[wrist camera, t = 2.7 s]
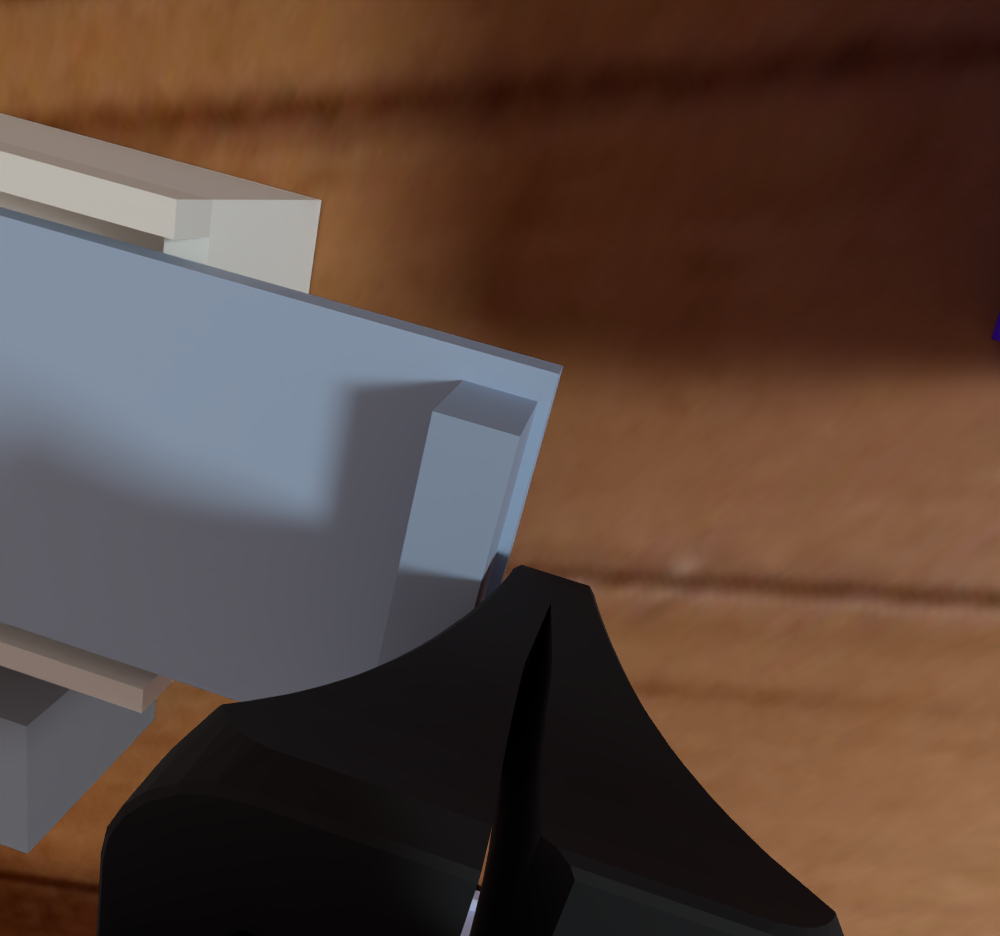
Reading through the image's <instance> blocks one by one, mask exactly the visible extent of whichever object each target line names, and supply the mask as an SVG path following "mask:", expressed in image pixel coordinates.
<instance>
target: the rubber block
mask: <svg viewBox="0 0 1000 936" xmlns="http://www.w3.org/2000/svg"><path fill="white" fill-rule="evenodd" d="M155 703H156V699H155V700H154V701H153V702H152V703H151V704H150V705H149V706H148V707H147V709H146V710H145V711H144V712H143V713H139V712H136V711H133V710H130V709H127V708H124V707H122V706H119V705H116V704H113V703H110V702H107V701H104V700H101V699H98V698H95V697H92V696H89V695H86V694H83V693H80V692H77V691H74V690H71V689H68V688H66V687H63V686H60V685H57V684H54V683H51V682H48V681H45V680H42V679H39V678H36V677H33V676H30V675H27V674H24V673H21V672H18V671H15V670H12V669H9V668H7V667H4V666H1V665H0V844H2V845H5V846H7V847H10V848H13V849H16V850H18V851H21V852H24V853H27V854H28V853H29V852H30V851H31V850H32V849H33V848H34V846H35V845H36V844H37V843H38V842H39V841H40V840H41V839H42V838H43V837H44V836H45V835H46V834H47V833H48V832H49V831H50V829H51V828H52V827H53V826H54V825H55V824H56V823H57V822H58V821H59V820H60V819H61V818H62V817H63V816H64V815H65V814H66V813H67V811H68V810H69V809H70V808H71V807H72V806H73V805H74V804H75V803H76V802H77V801H78V800H79V799H80V798H81V797H82V796H83V794H84V793H85V792H86V791H87V790H88V789H89V788H90V787H91V786H92V785H93V784H94V783H95V782H96V781H97V780H98V779H99V778H100V776H101V775H102V774H103V773H104V772H105V771H106V770H107V769H108V768H109V767H110V766H111V765H112V764H113V763H114V762H115V761H116V759H117V758H118V757H119V756H120V755H121V754H122V753H123V752H124V751H125V750H126V749H127V748H128V747H129V746H130V745H131V744H132V743H133V741H134V740H135V739H136V738H137V737H138V736H139V735H140V734H141V733H142V732H143V731H144V730H145V729H146V728H147V727H148V726H149V724H150V723H151V722H152V721H153V720H154V716H155Z"/></svg>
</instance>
